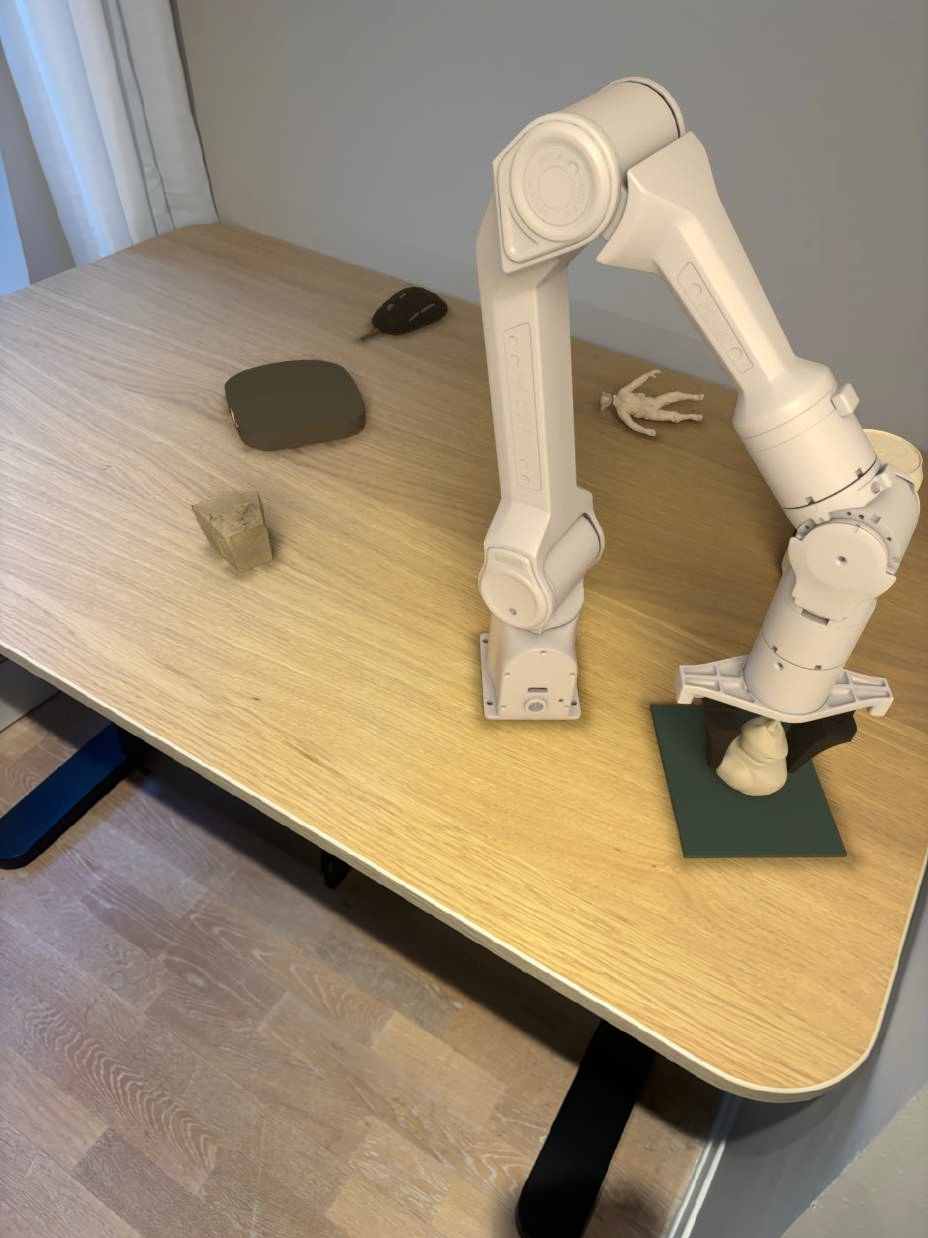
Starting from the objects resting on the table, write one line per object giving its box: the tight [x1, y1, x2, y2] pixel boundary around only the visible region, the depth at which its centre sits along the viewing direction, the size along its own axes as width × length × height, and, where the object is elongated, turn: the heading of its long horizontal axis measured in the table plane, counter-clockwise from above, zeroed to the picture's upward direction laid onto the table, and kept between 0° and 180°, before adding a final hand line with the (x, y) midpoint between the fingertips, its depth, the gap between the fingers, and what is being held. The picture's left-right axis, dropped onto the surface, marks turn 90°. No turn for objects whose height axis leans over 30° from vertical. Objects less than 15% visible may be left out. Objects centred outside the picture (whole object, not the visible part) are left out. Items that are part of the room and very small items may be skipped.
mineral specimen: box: [191, 489, 273, 574], centre depth 81 cm, size 7×9×8 cm
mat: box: [649, 704, 848, 859], centre depth 68 cm, size 14×12×1 cm
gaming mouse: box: [360, 285, 448, 341], centre depth 118 cm, size 6×15×4 cm, turn 136°
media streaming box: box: [223, 359, 366, 451], centre depth 101 cm, size 15×15×3 cm
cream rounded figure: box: [716, 716, 788, 796], centre depth 65 cm, size 5×7×8 cm
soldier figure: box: [599, 369, 705, 437], centre depth 103 cm, size 8×5×12 cm
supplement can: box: [780, 428, 924, 574], centre depth 80 cm, size 8×8×15 cm
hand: (749, 759), depth 67 cm, fingers closed on cream rounded figure, 5 cm apart
